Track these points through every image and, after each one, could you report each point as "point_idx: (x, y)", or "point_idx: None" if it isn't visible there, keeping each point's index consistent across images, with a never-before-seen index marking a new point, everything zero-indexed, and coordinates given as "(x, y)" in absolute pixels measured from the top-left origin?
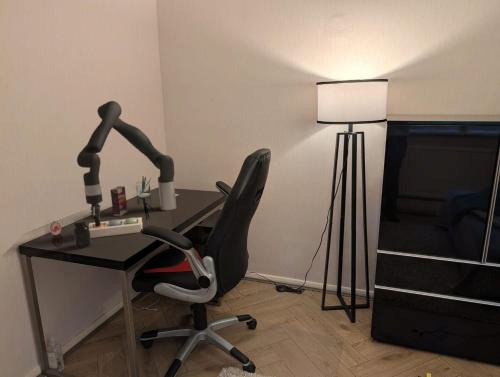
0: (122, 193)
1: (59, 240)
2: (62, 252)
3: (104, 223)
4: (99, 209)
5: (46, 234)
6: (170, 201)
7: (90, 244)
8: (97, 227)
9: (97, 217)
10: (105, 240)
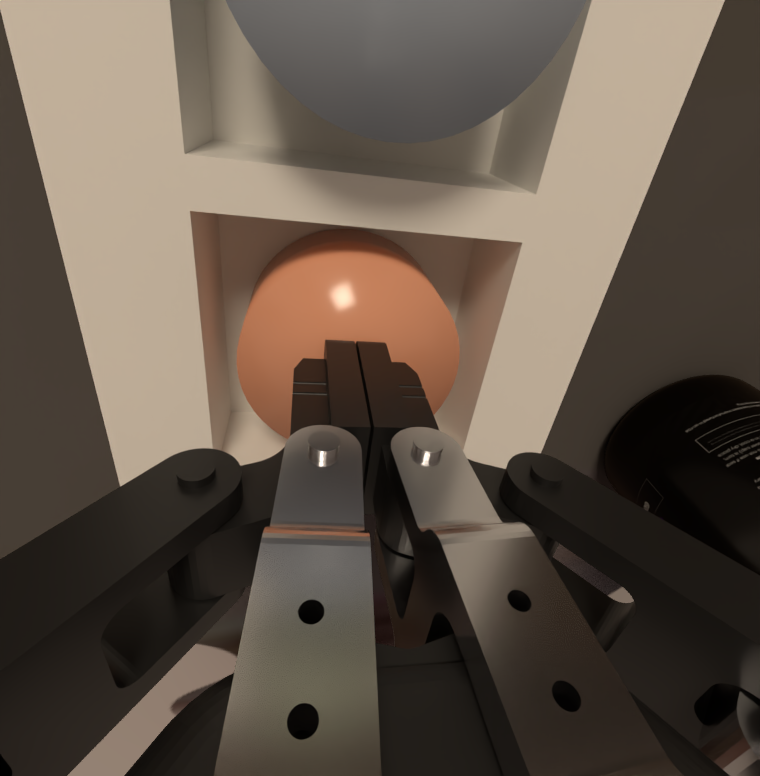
0: None
1: (387, 615)
2: None
3: (198, 258)
4: (372, 743)
5: (179, 708)
6: None
7: (740, 380)
8: (437, 376)
9: (632, 519)
10: (722, 208)
